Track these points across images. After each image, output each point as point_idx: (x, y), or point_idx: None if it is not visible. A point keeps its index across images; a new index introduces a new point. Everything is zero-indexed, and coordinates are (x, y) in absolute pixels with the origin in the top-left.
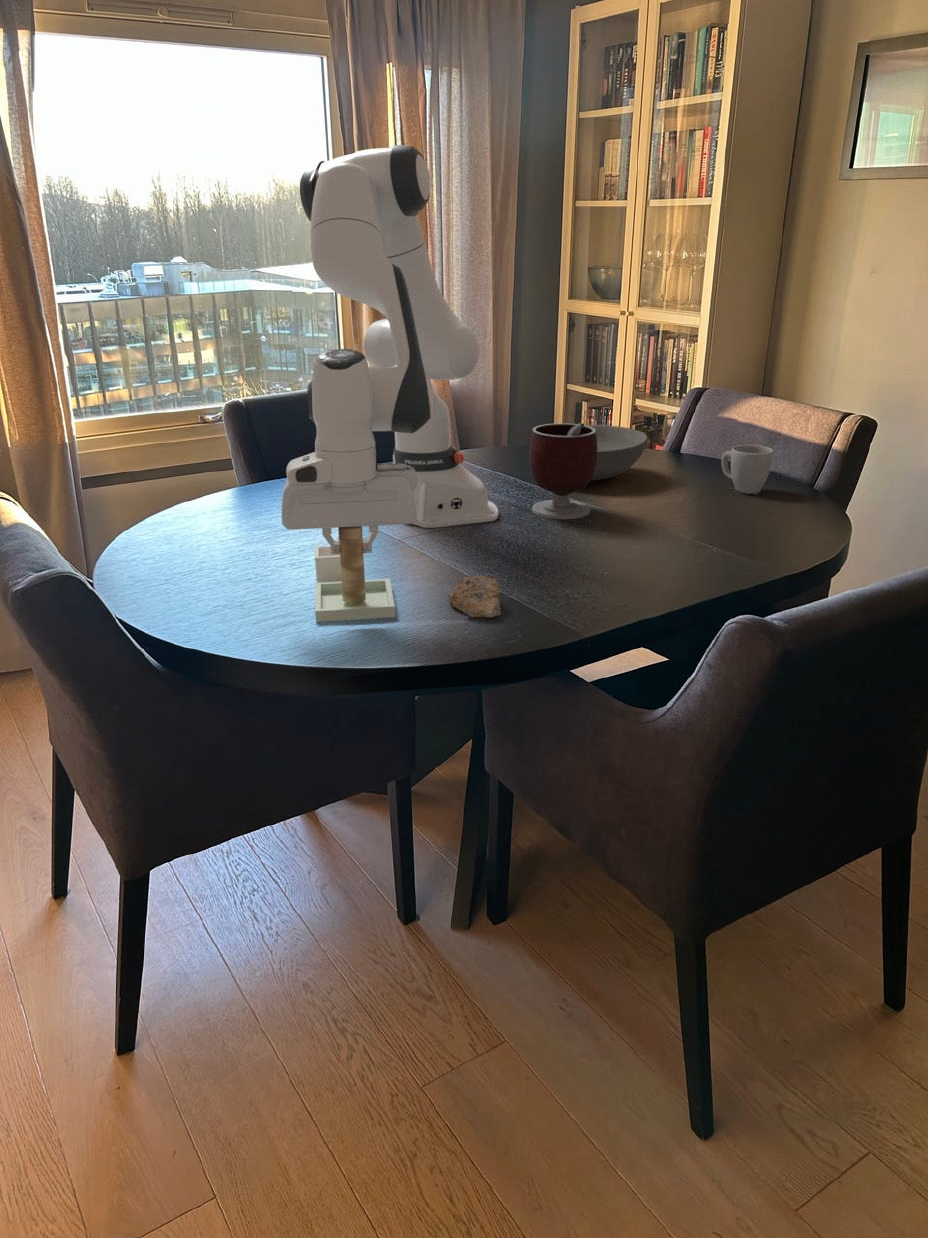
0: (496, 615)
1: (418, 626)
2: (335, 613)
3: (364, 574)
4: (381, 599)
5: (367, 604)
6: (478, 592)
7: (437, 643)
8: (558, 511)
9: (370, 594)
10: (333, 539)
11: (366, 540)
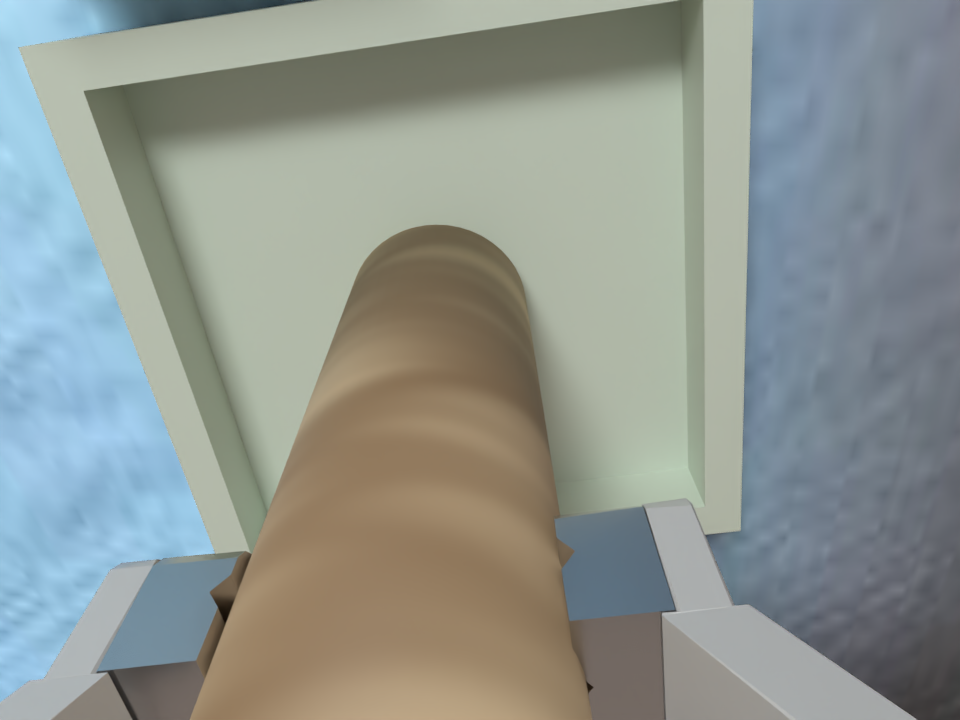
0: None
1: (834, 538)
2: None
3: (541, 398)
4: (640, 235)
5: (537, 322)
6: None
7: (889, 693)
8: None
9: (550, 126)
10: (85, 705)
11: (648, 651)
